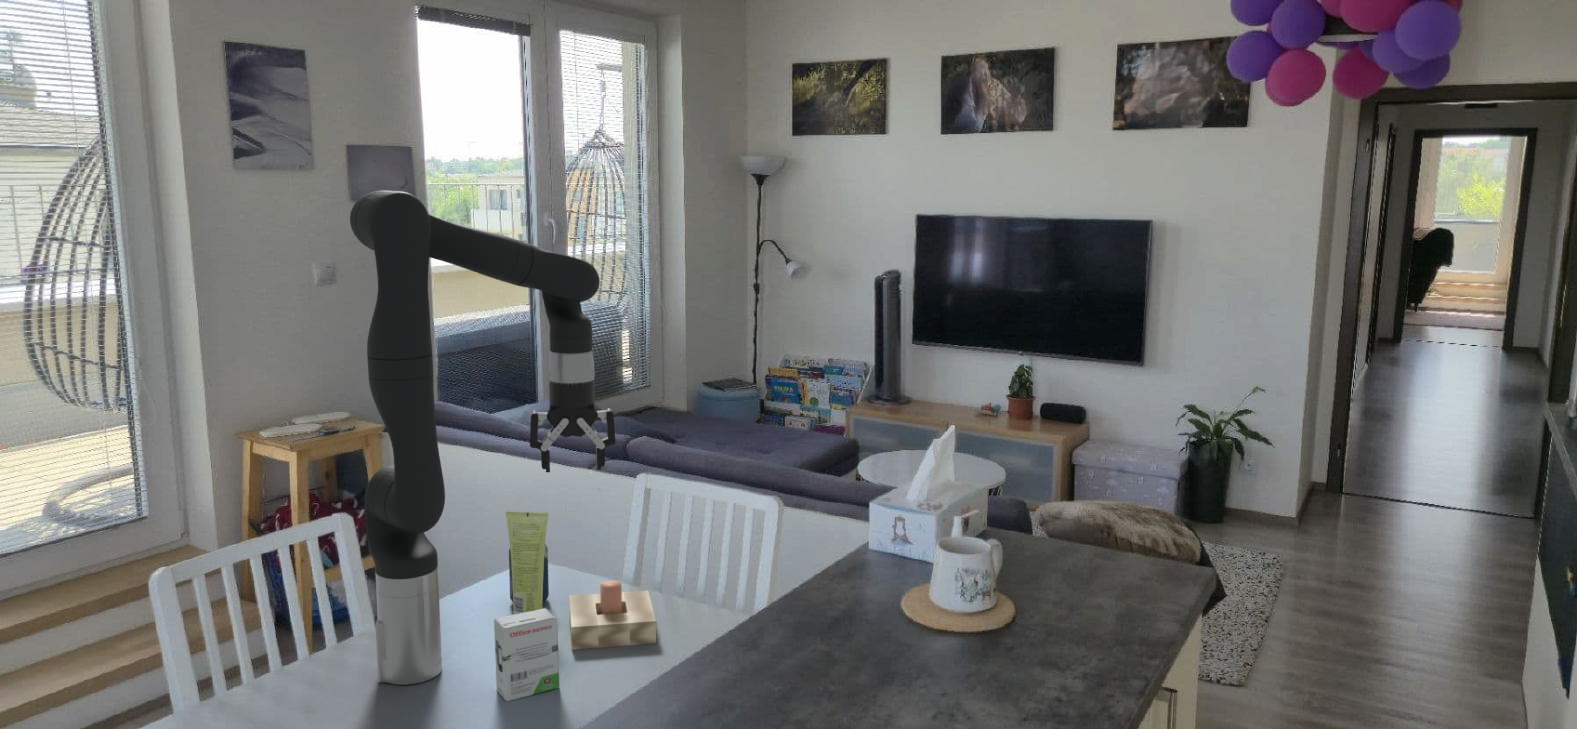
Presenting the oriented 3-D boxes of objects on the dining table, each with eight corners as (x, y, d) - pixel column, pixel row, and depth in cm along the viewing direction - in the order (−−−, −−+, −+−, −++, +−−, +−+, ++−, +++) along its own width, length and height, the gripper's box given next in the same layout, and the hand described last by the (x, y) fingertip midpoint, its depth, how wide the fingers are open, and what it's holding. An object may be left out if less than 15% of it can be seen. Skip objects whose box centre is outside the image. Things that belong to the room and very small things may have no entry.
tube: (537, 608, 202) (535, 505, 198) (550, 617, 198) (548, 512, 194) (508, 616, 198) (505, 510, 195) (521, 625, 194) (518, 518, 191)
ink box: (548, 676, 175) (547, 605, 173) (560, 689, 171) (559, 616, 169) (495, 689, 171) (492, 616, 169) (505, 702, 167) (503, 628, 165)
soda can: (555, 597, 207) (553, 535, 205) (538, 611, 200) (537, 548, 198) (520, 593, 209) (519, 532, 207) (503, 607, 202) (501, 544, 200)
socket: (571, 649, 185) (571, 627, 184) (569, 616, 198) (569, 595, 198) (655, 643, 188) (655, 621, 187) (648, 611, 201) (648, 590, 201)
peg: (601, 633, 191) (600, 588, 190) (600, 624, 194) (599, 581, 193) (622, 631, 192) (622, 587, 190) (621, 623, 195) (620, 579, 194)
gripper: (613, 372, 192) (613, 462, 195) (528, 373, 189) (530, 466, 192) (615, 380, 185) (616, 474, 188) (528, 382, 182) (530, 478, 185)
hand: (573, 470), depth 190 cm, fingers open, 8 cm apart
